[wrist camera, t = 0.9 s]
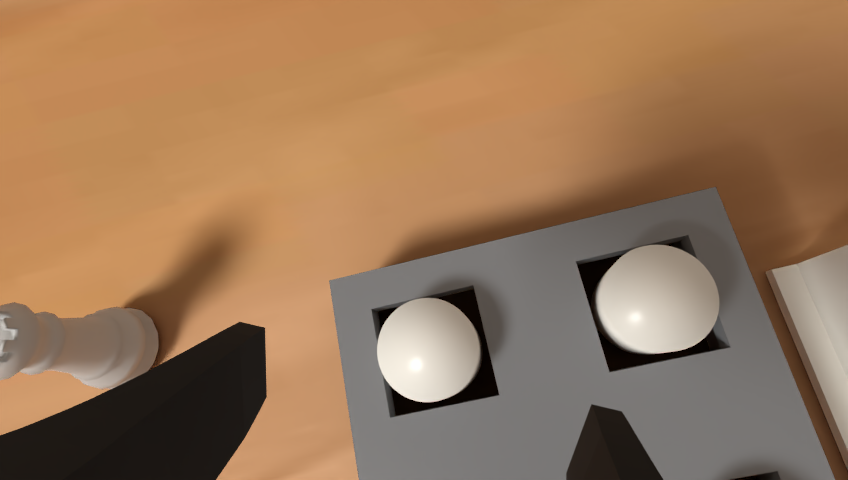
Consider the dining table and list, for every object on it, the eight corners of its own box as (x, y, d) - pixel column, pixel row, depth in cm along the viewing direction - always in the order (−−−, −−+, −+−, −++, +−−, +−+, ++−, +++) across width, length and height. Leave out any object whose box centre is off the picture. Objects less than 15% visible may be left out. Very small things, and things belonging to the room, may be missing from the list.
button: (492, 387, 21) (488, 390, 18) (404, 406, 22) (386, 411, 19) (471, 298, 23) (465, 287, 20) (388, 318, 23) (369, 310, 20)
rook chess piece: (155, 296, 28) (23, 268, 20) (171, 371, 27) (36, 371, 19) (87, 326, 28) (-69, 309, 21) (100, 402, 27) (-62, 414, 19)
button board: (835, 615, 19) (915, 675, 15) (418, 675, 21) (397, 741, 17) (683, 215, 24) (715, 186, 20) (356, 294, 26) (329, 280, 22)
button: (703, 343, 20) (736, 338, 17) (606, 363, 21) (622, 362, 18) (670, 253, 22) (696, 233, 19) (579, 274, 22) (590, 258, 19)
